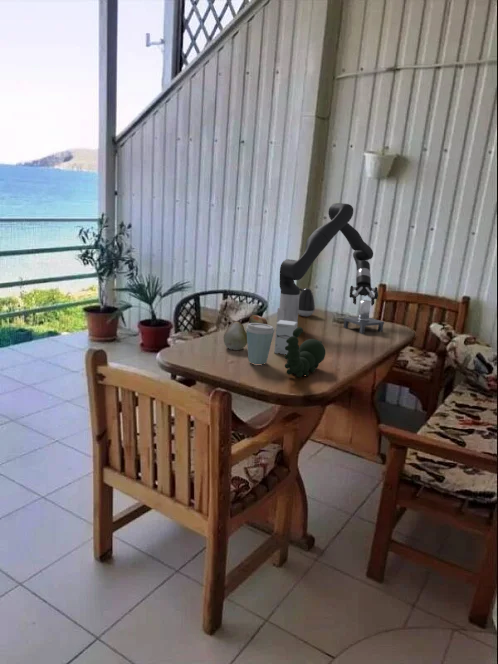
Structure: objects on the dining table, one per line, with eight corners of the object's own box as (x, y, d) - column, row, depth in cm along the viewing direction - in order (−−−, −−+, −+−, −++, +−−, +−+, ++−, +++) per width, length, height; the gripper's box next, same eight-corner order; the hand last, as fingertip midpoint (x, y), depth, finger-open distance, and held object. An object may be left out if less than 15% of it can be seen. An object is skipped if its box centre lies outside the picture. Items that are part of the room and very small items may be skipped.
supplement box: (273, 353, 203) (275, 322, 200) (278, 349, 210) (280, 319, 207) (291, 356, 201) (294, 325, 198) (295, 351, 208) (297, 321, 205)
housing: (363, 321, 248) (365, 302, 246) (355, 318, 253) (357, 300, 251) (371, 320, 251) (373, 301, 249) (363, 318, 256) (365, 299, 253)
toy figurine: (301, 388, 170) (331, 364, 190) (304, 334, 164) (335, 315, 184) (276, 382, 175) (308, 359, 195) (278, 329, 168) (311, 311, 189)
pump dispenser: (304, 312, 287) (306, 286, 283) (317, 316, 279) (320, 289, 275) (291, 314, 280) (293, 287, 277) (305, 318, 273) (307, 290, 269)
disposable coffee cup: (255, 357, 196) (258, 319, 193) (278, 363, 190) (280, 325, 186) (238, 362, 188) (240, 323, 185) (260, 369, 182) (263, 329, 178)
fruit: (250, 347, 209) (251, 319, 207) (244, 353, 201) (245, 324, 198) (226, 344, 212) (228, 316, 209) (219, 350, 203) (220, 321, 200)
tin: (247, 330, 239) (248, 312, 237) (253, 330, 240) (254, 312, 238) (261, 338, 226) (263, 319, 224) (268, 337, 227) (269, 319, 225)
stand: (361, 333, 244) (362, 323, 243) (342, 327, 256) (343, 317, 254) (383, 331, 251) (384, 321, 250) (363, 325, 262) (364, 316, 261)
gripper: (350, 273, 264) (350, 299, 255) (378, 275, 262) (379, 301, 254) (348, 282, 270) (348, 307, 262) (375, 283, 269) (376, 309, 261)
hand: (363, 304), depth 258 cm, fingers open, 8 cm apart
